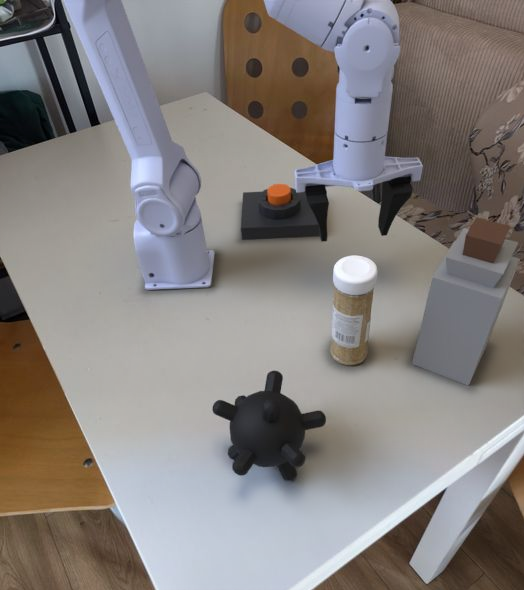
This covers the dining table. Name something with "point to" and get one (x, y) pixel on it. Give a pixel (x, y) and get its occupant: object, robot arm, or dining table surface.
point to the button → (279, 194)
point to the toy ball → (267, 429)
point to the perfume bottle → (466, 301)
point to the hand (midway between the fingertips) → (352, 233)
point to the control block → (277, 217)
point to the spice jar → (352, 308)
